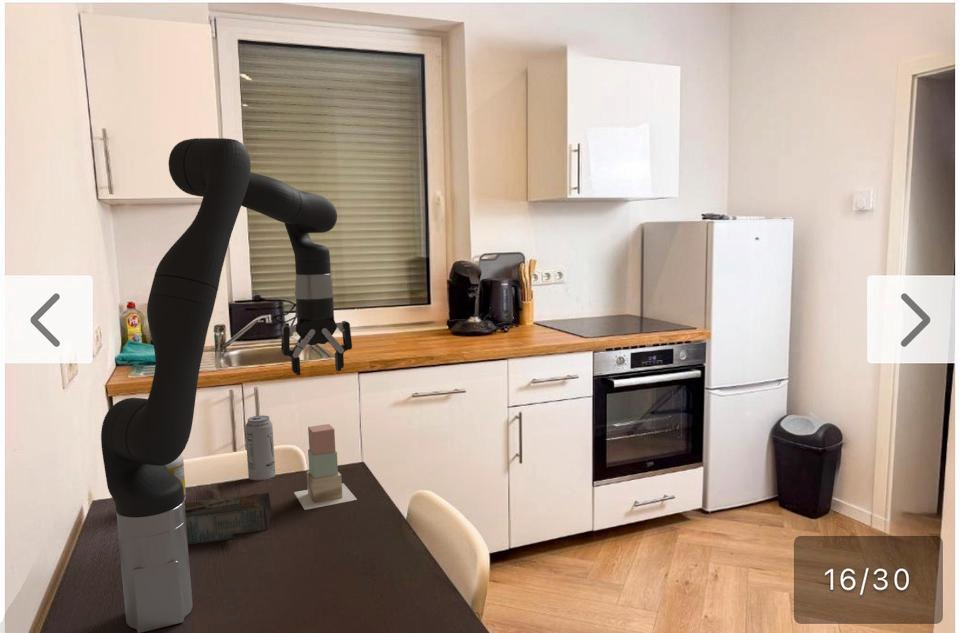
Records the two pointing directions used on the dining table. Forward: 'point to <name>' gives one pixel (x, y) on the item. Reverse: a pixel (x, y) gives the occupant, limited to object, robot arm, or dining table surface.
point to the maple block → (324, 488)
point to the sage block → (323, 464)
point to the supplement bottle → (178, 471)
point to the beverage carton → (226, 517)
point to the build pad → (309, 504)
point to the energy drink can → (260, 448)
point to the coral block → (321, 439)
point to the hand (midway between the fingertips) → (318, 372)
